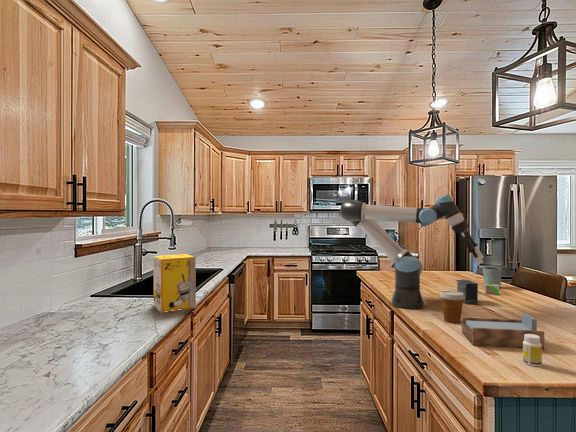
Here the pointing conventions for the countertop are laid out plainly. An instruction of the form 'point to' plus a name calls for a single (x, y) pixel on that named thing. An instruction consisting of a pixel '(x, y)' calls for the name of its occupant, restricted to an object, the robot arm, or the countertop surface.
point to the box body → (497, 334)
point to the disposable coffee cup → (452, 306)
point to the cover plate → (507, 324)
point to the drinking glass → (492, 275)
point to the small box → (468, 291)
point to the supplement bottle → (532, 350)
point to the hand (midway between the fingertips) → (481, 261)
